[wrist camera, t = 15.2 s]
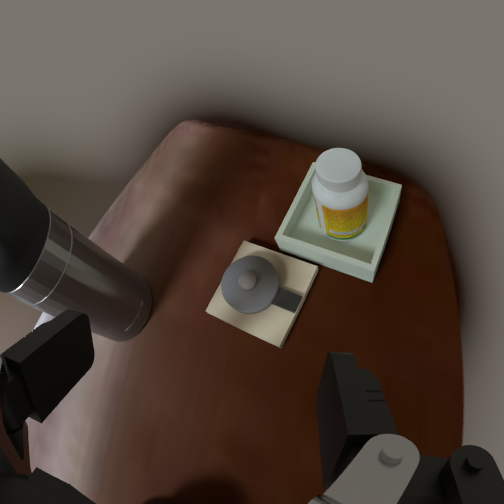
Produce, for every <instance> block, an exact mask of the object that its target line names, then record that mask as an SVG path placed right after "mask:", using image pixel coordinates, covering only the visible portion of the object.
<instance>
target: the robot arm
mask: <svg viewBox="0 0 504 504" xmlns="http://www.w3.org/2000/svg"><path fill="white" fill-rule="evenodd" d="M0 291H1V292H3V293H6V294H7V295H9V296H11V297H13V298H15V299H17V300H19V301H21V302H23V303H26V304H28V305H30V306H32V307H34V308H36V309H39V310H41V311H43V312H45V313H47V314H50V315H52V316H54V317H55V318H54V319H52V320H51V321H48V322H46V323H43V324H41V325H40V326H38V327H37V328H36V329H34V330H33V332H31V333H29V334H28V335H26V337H25V338H22V339H21V340H19V341H18V342H17V343H16V344H14V345H13V346H11V347H10V348H9V349H7V350H6V351H5V352H3V353H2V354H1V355H0V504H96V503H94V502H93V501H91V500H90V499H89V498H87V497H86V496H84V495H83V494H82V493H80V492H79V491H78V490H76V489H75V488H74V487H73V486H71V485H70V484H68V483H66V482H64V481H62V480H60V479H58V478H56V477H54V476H52V475H50V474H48V473H46V472H44V471H42V470H41V469H39V468H37V467H36V469H35V470H34V471H33V473H32V472H31V468H30V458H29V441H28V426H27V423H26V421H25V420H26V419H27V418H28V417H30V418H32V419H34V420H36V421H38V422H40V423H42V422H43V421H44V420H45V419H46V418H47V416H48V415H49V414H50V413H51V412H52V411H53V410H54V408H55V407H56V406H57V405H58V404H59V403H60V402H61V400H62V399H63V398H64V397H65V396H66V395H67V394H68V393H69V391H70V390H71V389H72V388H73V387H74V386H75V385H76V384H77V382H78V381H79V380H80V379H81V378H82V377H83V376H84V375H85V374H86V372H87V371H88V370H89V369H90V368H91V366H92V364H93V361H94V347H93V341H92V334H91V332H93V333H95V334H98V335H101V336H103V337H106V338H109V339H111V340H114V341H125V340H128V339H130V338H132V337H134V336H135V335H136V334H138V333H139V331H140V330H141V329H142V328H143V327H144V325H145V324H146V322H147V320H148V317H149V315H150V311H151V307H152V294H151V290H150V287H149V285H148V283H147V282H146V281H145V280H144V279H143V278H142V277H141V276H140V275H138V274H137V273H135V272H134V271H132V270H131V269H129V268H128V267H127V266H125V265H124V264H123V263H121V262H120V261H118V260H117V259H116V258H114V257H113V256H111V255H110V254H109V253H107V252H106V251H104V250H103V249H102V248H100V247H99V246H98V245H96V244H95V243H94V242H92V241H91V240H89V239H88V238H87V237H85V236H84V235H83V234H81V233H80V232H79V231H78V230H76V229H75V228H73V227H72V226H71V225H70V224H68V223H67V222H66V221H64V220H63V219H62V218H60V217H59V216H58V215H57V214H55V213H54V212H53V211H52V210H50V209H49V208H48V207H47V206H45V205H44V204H43V203H42V202H41V201H40V200H38V199H37V198H36V197H35V195H34V194H33V193H32V192H31V190H30V189H29V188H28V186H27V185H26V184H25V183H24V182H23V180H22V179H21V178H20V177H19V176H18V175H17V174H16V173H15V172H14V171H13V170H11V169H10V168H9V167H8V166H7V165H6V164H5V163H4V162H3V161H2V160H1V159H0ZM316 413H317V422H318V433H319V443H320V454H321V466H322V479H323V489H328V490H327V491H326V492H325V493H324V494H323V495H322V496H320V495H318V496H316V497H315V498H313V499H312V500H311V501H310V502H309V503H308V504H504V480H503V478H502V475H501V473H500V471H499V469H498V467H497V465H496V463H495V461H494V459H493V457H492V456H491V455H490V454H489V453H488V452H487V451H486V450H484V449H483V448H481V447H478V446H473V445H465V446H462V447H459V448H457V449H456V450H455V451H454V452H453V453H452V455H451V456H450V458H449V459H446V458H437V457H429V456H424V455H420V454H419V452H418V450H417V448H416V446H415V445H414V444H413V443H412V442H411V441H409V440H408V439H406V438H404V437H402V436H399V435H398V433H397V430H396V428H395V425H394V422H393V420H392V417H391V414H390V411H389V409H388V406H387V404H386V402H385V398H384V396H383V393H381V388H380V385H379V383H378V380H377V379H376V378H375V377H374V376H373V375H372V374H371V373H370V372H369V371H368V370H367V369H358V367H357V364H356V361H355V358H354V355H353V354H352V353H341V352H328V354H327V357H326V360H325V364H324V369H323V373H322V377H321V380H320V384H319V388H318V392H317V399H316Z"/></svg>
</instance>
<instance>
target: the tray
mask: <svg viewBox="0 0 504 504" xmlns="http://www.w3.org/2000/svg"><path fill="white" fill-rule="evenodd" d="M315 166H316V163H315V162H313V163H312V165H311V167H310V169H309V171H308V173H307V175H306V177H305V179H304V181H303V183H302V185H301V187H300V189H299V191H298V193H297V195H296V197H295V199H294V201H293V203H292V205H291V207H290V209H289V211H288V213H287V215H286V217H285V219H284V220H283V222H282V224H281V226H280V228H279V230H278V232H277V234H276V236H275V240H276V242H277V244H278V246H279V248H280V250H281V251H283V252H286V253H289V254H291V255H294V256H297V257H300V258H303V259H306V260H309V261H312V262H314V263H317V264H320V265H323V266H326V267H329V268H332V269H335V270H337V271H340V272H343V273H346V274H349V275H352V276H354V277H357V278H360V279H363V280H366V281H369V282H371V283H373V280H374V277H375V275H376V272H377V269H378V266H379V263H380V260H381V258H382V255H383V252H384V249H385V246H386V243H387V240H388V237H389V234H390V230H391V227H392V224H393V221H394V217H395V214H396V211H397V207H398V204H399V200H400V194H401V188H402V185H400V184H397V183H394V182H390V181H387V180H383V179H379V178H376V177H372V176H368V175H366V176H367V179H368V183H369V195H368V216H367V225H366V228H365V230H364V232H363V233H362V234H361V235H360V236H359V237H357V238H356V239H354V240H351V241H347V242H341V241H336V240H333V239H330V238H329V237H327V236H326V235H325V234H324V233H323V232H322V230H321V228H320V225H319V221H318V217H317V211H316V206H315V202H314V197H313V192H312V180H313V177H314V175H315V173H316V167H315Z"/></svg>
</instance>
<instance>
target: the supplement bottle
mask: <svg viewBox="0 0 504 504" xmlns="http://www.w3.org/2000/svg"><path fill="white" fill-rule="evenodd" d="M315 167H316V173H315V175H314V177H313V180H312V192H313V197H314V202H315V206H316V211H317V217H318V221H319V225H320V228H321V230H322V232H323V233H324V234H325V235H326V236H327V237H329V238H330V239H333V240H336V241H341V242H347V241H351V240H354V239H356V238H357V237H359V236H360V235H361V234H362V233H363V232H364V230H365V228H366V225H367V216H368V195H369V183H368V179H367V176H366V174H365V173H364V172H363V170H362V166H361V161H360V159H359V157H358V156H357V155H356V154H355V153H354V152H352V151H351V150H348V149H344V148H333V149H330V150H327V151H325V152H323V153H322V154H321V155H320V156H319V157H318V159H317V161H316V166H315Z"/></svg>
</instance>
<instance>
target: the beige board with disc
mask: <svg viewBox="0 0 504 504" xmlns="http://www.w3.org/2000/svg"><path fill="white" fill-rule="evenodd" d="M317 272H318V266H315V265H312V264H310V263H307V262H304V261H301V260H298V259H295V258H292V257H290V256H287V255H284V254H281V253H278V252H275V251H272V250H270V249H267V248H264V247H261V246H258V245H255V244H252V243H249V242H246V241H243V243H242V245H241V247H240V248H239V250H238V252H237V254H236V256H235V258H234V259H233V261H232V263H231V265H230V266H229V267H228V268H227V270H226V271H225V273H224V275H223V278H222V281H221V283H220V285H219V287H218V289H217V291H216V293H215V294H214V296H213V298H212V300H211V302H210V304H209V305H208V307H207V309H206V312H207V313H209V314H211V315H213V316H215V317H217V318H219V319H221V320H223V321H225V322H227V323H229V324H231V325H233V326H235V327H237V328H239V329H241V330H243V331H245V332H247V333H250V334H252V335H254V336H256V337H258V338H260V339H262V340H264V341H267V342H269V343H271V344H273V345H275V346H277V347H280V348H282V346H283V344H284V342H285V340H286V338H287V336H288V334H289V332H290V330H291V328H292V326H293V324H294V322H295V320H296V318H297V316H298V313H299V311H300V309H301V307H302V305H303V303H304V301H305V299H306V296H307V294H308V292H309V290H310V288H311V286H312V283H313V281H314V279H315V277H316V275H317Z"/></svg>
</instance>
